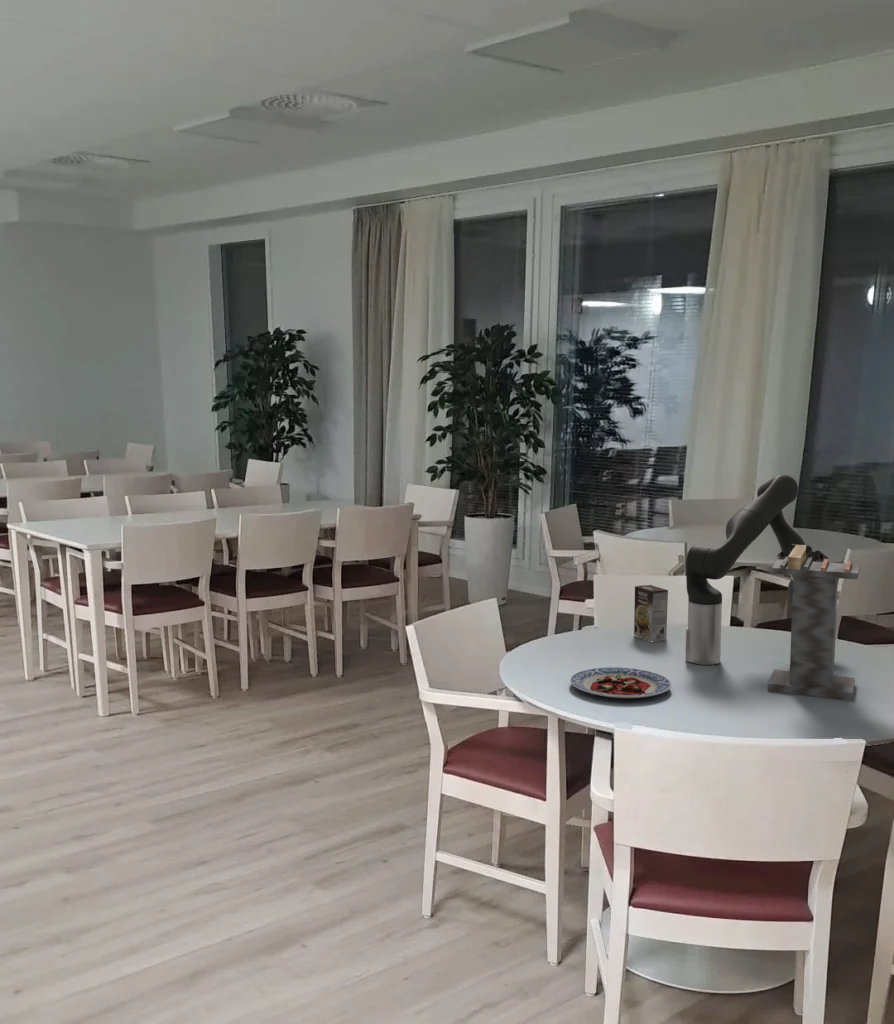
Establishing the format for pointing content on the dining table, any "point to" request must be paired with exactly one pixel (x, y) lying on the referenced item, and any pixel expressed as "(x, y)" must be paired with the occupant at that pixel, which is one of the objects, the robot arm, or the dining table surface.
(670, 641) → the dining table surface
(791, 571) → the grey pedestal stand
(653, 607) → the printed cardboard box
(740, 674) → the dining table surface
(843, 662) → the dining table surface
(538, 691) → the dining table surface
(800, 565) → the oak bar
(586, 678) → the ceramic plate
